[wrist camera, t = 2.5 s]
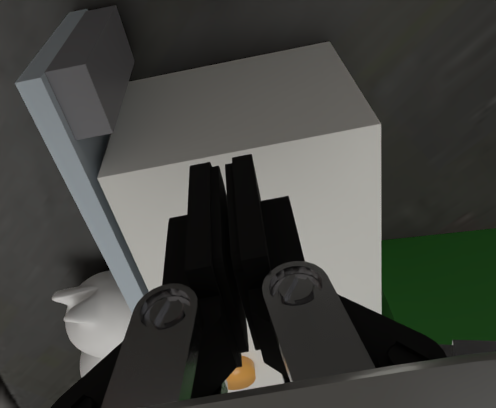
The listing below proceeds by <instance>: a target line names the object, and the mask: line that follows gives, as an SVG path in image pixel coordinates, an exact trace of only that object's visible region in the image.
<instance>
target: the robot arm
mask: <svg viewBox="0 0 496 408" xmlns="http://www.w3.org/2000/svg"><path fill="white" fill-rule="evenodd" d="M225 175H226V190H225V186H224V182H223V178H222V174H221V171H220V167H219V166H214V167H212V165H211V163H210V162H206V163H201V164H196V165H191V166H190V168H189V188H188V209H187V215H183V216H178V217H172V218H170V219H169V222H168V230H167V241H166V251H165V261H164V271H163V281H162V285H161V286H159V287H157V288H154V289H152V290H151V291H149V292H148V293H146V294H145V295H144V296H143V297H142V298H141V299H140V300H139V301H138V302H137V304H136V306H135V308H134V310H133V313H132V316H131V319H130V322H129V325H128V328H127V331H126V334H125V337H124V340H123V341H122V342H121V343H120V344H119V345H118V346H117V347H116V348H115V349H113V350H112V351H111V352H110V353H109V354H108V355H107V356H106V357H104V358H103V359H102V360H101V361H100V362H99V363H98V364H97V365H96V366H94V367H93V368H92V369H91V370H90V371H89V372H88V373H87V374H86V375H84V376H83V377H82V378H81V379H80V380H79V381H78V382H77V383H75V384H74V385H73V386H72V387H71V388H70V389H69V390H68V391H67V392H65V393H64V394H63V395H62V396H61V397H60V398H59V399H58V400H57V401H56V402H55V403H54V404H53V405H52V407H51V408H496V341H482V340H452V345H443V344H438V343H437V342H435V341H434V340H432V339H431V338H429V337H428V336H426V335H424V334H422V333H420V332H417V331H415V330H413V329H411V328H409V327H407V326H405V325H403V324H400V323H398V322H396V321H394V320H392V319H390V318H388V317H385V316H383V315H381V314H379V313H377V312H375V311H373V310H370V309H368V308H366V307H364V306H362V305H360V304H358V303H356V302H353V301H351V300H349V299H347V298H345V297H343V296H341V295H338V294H337V293H336V291H335V289H334V287H333V285H332V283H331V281H330V279H329V277H328V275H327V274H326V273H325V272H324V270H323V269H322V268H320V267H319V266H317V265H315V264H312V263H309V262H306V261H305V260H304V256H303V252H302V248H301V244H300V240H299V235H298V231H297V227H296V223H295V219H294V215H293V211H292V207H291V203H290V199H289V196H284V197H279V198H274V199H268V200H263V201H261V197H260V192H259V187H258V182H257V177H256V172H255V168H254V163H253V158H252V154H248V155H243V156H238V157H232V163H230V164H225ZM226 191H227V194H226ZM246 319H247V322H248V326H249V329H250V333H251V337H252V340H253V344H254V348H255V350H261V354H262V357H263V361H264V363H265V364H267V365H268V366H270V367H272V368H273V369H275V370H276V371H278V372H279V373H281V375H282V379H283V384H277V385H271V386H265V387H259V388H253V389H247V390H241V391H235V392H229V393H228V383H227V380H226V379H227V378H228V377H229V375H230V374H231V373H232V372H233V371H234V370H235V369H236V368H238V367H242V356H241V353H244V352H249V344H248V333H247V322H246Z"/></svg>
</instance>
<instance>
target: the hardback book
mask: <svg viewBox="0 0 496 408" xmlns="http://www.w3.org/2000/svg"><path fill="white" fill-rule="evenodd" d="M381 295H382V315H383V316H385V317H388V318H390V319H392V320H394V321H396V322H398V323H400V324H403V325H405V326H407V327H409V328H411V329H413V330H415V331H417V332H420V333H422V334H424V335H426V336H428V337H429V338H431V339H432V340H434V341H435V342H437V343H438V344H443V345H452V340H482V341H496V228H494V229H485V230H476V231H466V232H457V233H447V234H438V235H428V236H419V237H410V238H400V239H391V240H381Z"/></svg>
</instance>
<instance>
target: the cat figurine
mask: <svg viewBox="0 0 496 408" xmlns="http://www.w3.org/2000/svg"><path fill="white" fill-rule="evenodd" d="M52 300H54V301H55V302H60V303H63V304H66V305H68V307H67V311H66V315H65V317H64V321H65V326H66V331H67V334H68V337H69V339H70V341H71V342H72V343H73V344H74V345H75V346H76V347H77V348H78V349H79V350H81V351H82V353H81V357H80V373H81V378H82V377H83V376H84V375H86V374H87V373H88V372H89V371H90V370H91V369H92V368H93V367H94V366H96V365H97V364H98V363H99V362H100V361H101V360H102V359H103V358H104V357H106V356H107V355H108V354H109V353H110V352H111V351H112V350H113V349H115V348H116V347H117V346H118V345H119V344H120V343H121V342H122V341H123V340H124V337H125V334H126V331H127V328H128V325H129V322H130V319H131V316H132V312H131V310H130V308H129V306H128V304H127V302H126V300H125V298H124V297H123V295H122V293H121V291H120V289H119V287H118V285H117V283H116V281H115V279H114V277H113V275H112V273H111V271H104V272H101V273H98V274H95V275H93V276H91V277H90V278H88V279H87V280H85V281H84V282H83V283H82V284H81V285H80V286H78V287H73V288H67V289H62V290H59V291H56V292H55V293H54V295H53V297H52Z"/></svg>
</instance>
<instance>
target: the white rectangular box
mask: <svg viewBox="0 0 496 408" xmlns="http://www.w3.org/2000/svg"><path fill="white" fill-rule="evenodd" d="M248 154H252V158H253V163H254V168H255V172H256V177H257V182H258V187H259V192H260V197H261V201H263V200H268V199H274V198H279V197H284V196H289V199H290V203H291V207H292V211H293V215H294V219H295V223H296V227H297V231H298V235H299V240H300V244H301V248H302V252H303V256H304V260H305V261H306V262H309V263H312V264H315V265H317V266H319V267H320V268H322V269H323V270H324V272H325V273H326V274H327V275H328V277H329V279H330V281H331V283H332V285H333V287H334V289H335V291H336V293H337V294H338V295H341V296H343V297H345V298H347V299H349V300H351V301H353V302H356V303H358V304H360V305H362V306H364V307H366V308H368V309H370V310H373V311H375V312H377V313H379V314H381V315H382V295H381V123H380V121H379V120H378V118H377V117H376V115H375V113H374V112H373V110H372V109H371V107H370V105H369V104H368V102H367V101H366V99H365V97H364V96H363V94H362V93H361V91H360V89H359V88H358V86H357V85H356V83H355V81H354V80H353V78H352V77H351V75H350V73H349V72H348V70H347V68H346V67H345V65H344V64H343V62H342V60H341V59H340V57H339V56H338V54H337V52H336V51H335V49H334V48H333V46H332V44H331V43H330V41H328V42H323V43H318V44H313V45H308V46H303V47H298V48H293V49H289V50H284V51H279V52H274V53H269V54H264V55H259V56H254V57H249V58H244V59H239V60H234V61H229V62H224V63H219V64H214V65H209V66H204V67H199V68H194V69H189V70H184V71H179V72H174V73H169V74H164V75H159V76H154V77H149V78H144V79H139V80H134V81H129V82H128V86H127V89H126V92H125V95H124V99H123V102H122V105H121V109H120V112H119V115H118V118H117V122H116V125H115V128H114V131H113V133H111V134H110V136H109V139H108V142H107V145H106V148H105V152H104V155H103V158H102V160H103V161H102V164H101V168H100V171H99V174H98V177H97V179H98V181H99V183H100V185H101V188H102V190H103V192H104V194H105V196H106V199H107V201H108V203H109V205H110V207H111V210H112V212H113V214H114V216H115V218H116V221H117V223H118V225H119V227H120V229H121V232H122V234H123V236H124V238H125V240H126V243H127V245H128V247H129V249H130V251H131V253H132V256H133V258H134V260H135V262H136V264H137V267H138V269H139V271H140V273H141V275H142V278H143V280H144V282H145V284H146V286H147V289H148V291H151V290H152V289H154V288H157V287H159V286H161V285H162V281H163V271H164V261H165V251H166V241H167V230H168V222H169V219H170V218H172V217H178V216H183V215H187V209H188V188H189V168H190V166H191V165H196V164H201V163H206V162H210V163H211V165H212V167H214V166H219V167H220V171H221V174H222V178H223V182H224V186H225V190H226V175H225V164H230V163H232V157H238V156H243V155H248ZM226 194H227V191H226ZM246 322H247V319H246ZM247 333H248V344H249V352H244V353H241V356H242V367H238V368H236V369H235V370H234V371H233V372H232V373H231V374H230V375H229V377H228V378H227V379H226V380H227V383H228V393H229V392H235V391H241V390H247V389H253V388H259V387H265V386H271V385H277V384H283V379H282V375H281V373H279V372H278V371H276V370H275V369H273V368H272V367H270V366H268V365H267V364H265V363H264V361H263V357H262V354H261V350H255V348H254V344H253V340H252V337H251V333H250V329H249V326H248V322H247Z"/></svg>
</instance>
